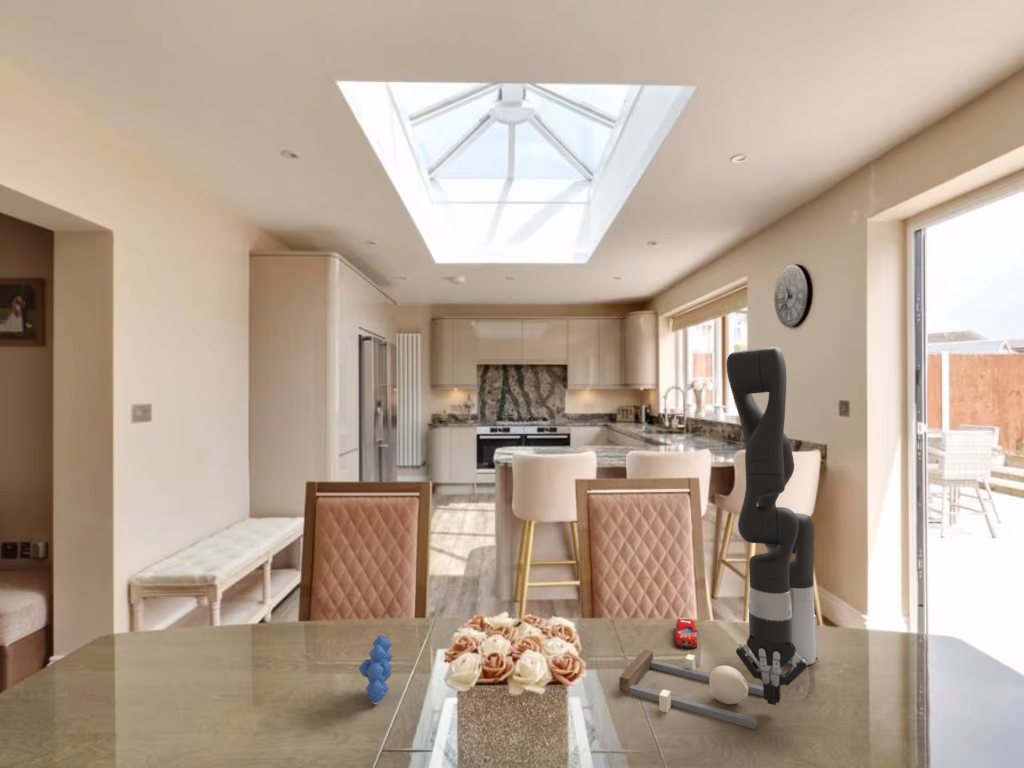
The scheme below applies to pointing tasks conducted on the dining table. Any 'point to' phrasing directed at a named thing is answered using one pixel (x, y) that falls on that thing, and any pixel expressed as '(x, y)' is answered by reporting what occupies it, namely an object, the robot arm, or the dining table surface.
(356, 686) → the dining table surface
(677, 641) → the race car
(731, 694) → the cream round ball
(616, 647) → the dining table surface
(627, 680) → the backstop
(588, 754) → the dining table surface
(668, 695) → the line posts
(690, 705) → the rails
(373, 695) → the grapes
